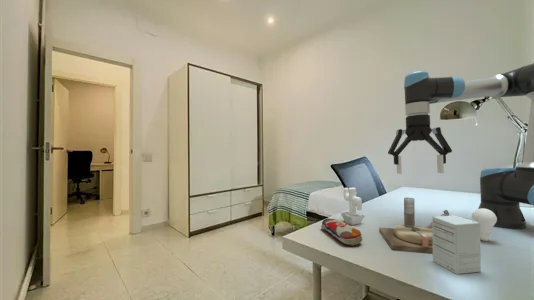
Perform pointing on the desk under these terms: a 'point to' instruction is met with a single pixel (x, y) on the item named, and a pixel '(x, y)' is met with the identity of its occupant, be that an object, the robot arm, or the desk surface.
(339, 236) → the pencil case
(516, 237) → the desk surface
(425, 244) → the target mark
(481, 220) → the lightbulb
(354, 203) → the figurine
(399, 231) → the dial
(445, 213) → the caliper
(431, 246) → the stand
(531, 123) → the robot arm
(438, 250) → the supplement box
